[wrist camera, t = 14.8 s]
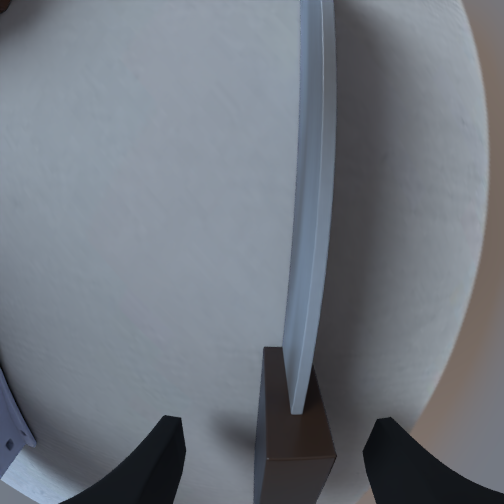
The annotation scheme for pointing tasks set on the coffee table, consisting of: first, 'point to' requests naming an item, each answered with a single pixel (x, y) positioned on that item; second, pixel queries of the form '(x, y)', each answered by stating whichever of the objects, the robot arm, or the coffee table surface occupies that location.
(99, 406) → the coffee table surface
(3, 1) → the cake slice
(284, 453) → the knife
